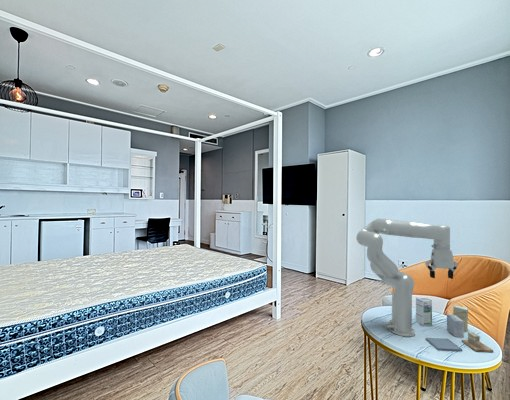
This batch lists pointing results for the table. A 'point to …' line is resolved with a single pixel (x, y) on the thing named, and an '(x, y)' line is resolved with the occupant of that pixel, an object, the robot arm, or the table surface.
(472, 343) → the stub
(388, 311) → the table surface
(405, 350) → the table surface
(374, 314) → the table surface
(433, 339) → the plate
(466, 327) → the skincare box
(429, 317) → the syrup box
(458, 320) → the medicine box
